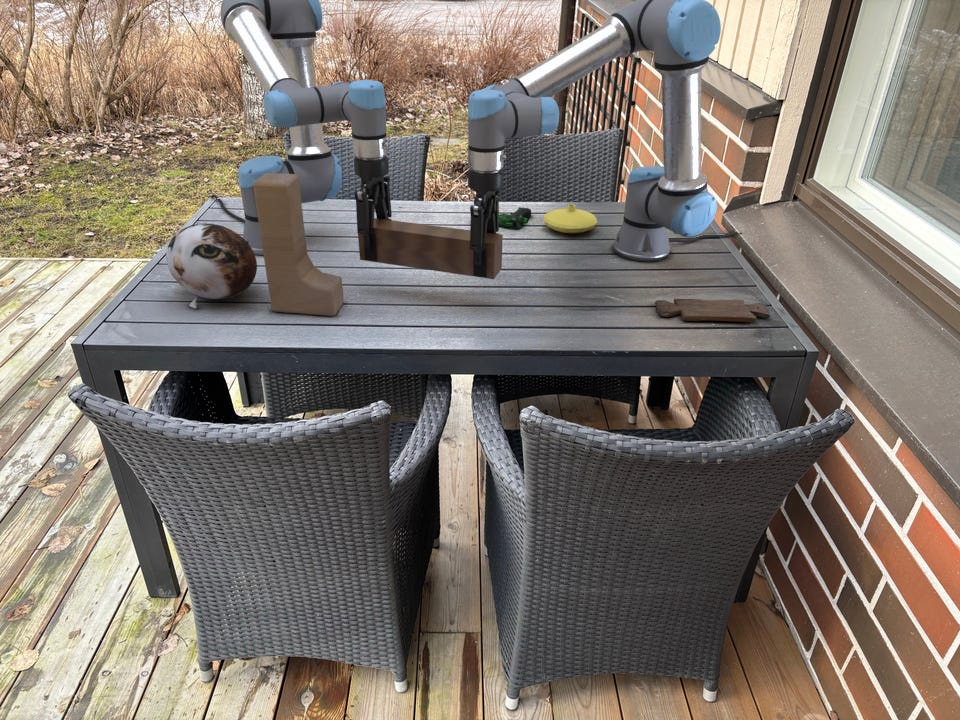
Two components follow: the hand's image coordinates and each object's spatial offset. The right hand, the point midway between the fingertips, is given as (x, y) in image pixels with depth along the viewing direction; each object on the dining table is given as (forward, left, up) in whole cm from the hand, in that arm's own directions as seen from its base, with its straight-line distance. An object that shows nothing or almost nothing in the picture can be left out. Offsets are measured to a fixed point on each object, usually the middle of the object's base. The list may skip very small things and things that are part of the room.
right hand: (484, 270), depth 162 cm
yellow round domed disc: (-52, -24, -9) cm, 58 cm away
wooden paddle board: (-40, +35, -9) cm, 54 cm away
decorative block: (+33, -24, -9) cm, 41 cm away
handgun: (-41, -41, -9) cm, 59 cm away
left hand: (+15, -22, 0) cm, 27 cm away
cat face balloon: (+47, -42, -9) cm, 64 cm away
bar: (+7, -11, -1) cm, 13 cm away
